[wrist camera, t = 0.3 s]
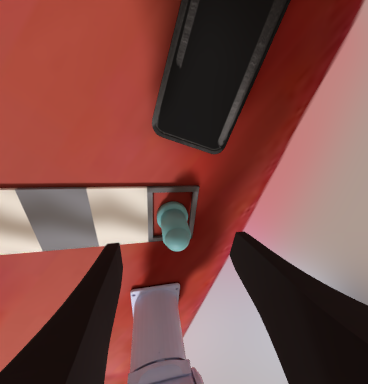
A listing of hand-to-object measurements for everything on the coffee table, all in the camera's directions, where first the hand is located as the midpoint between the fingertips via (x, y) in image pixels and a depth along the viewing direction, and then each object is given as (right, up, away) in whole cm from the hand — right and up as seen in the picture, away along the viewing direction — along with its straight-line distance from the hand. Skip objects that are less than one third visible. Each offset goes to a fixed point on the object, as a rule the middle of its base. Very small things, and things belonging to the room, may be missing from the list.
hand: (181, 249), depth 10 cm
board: (-10, 0, +8) cm, 13 cm away
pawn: (-1, +1, +10) cm, 10 cm away
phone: (+3, +15, +4) cm, 16 cm away
